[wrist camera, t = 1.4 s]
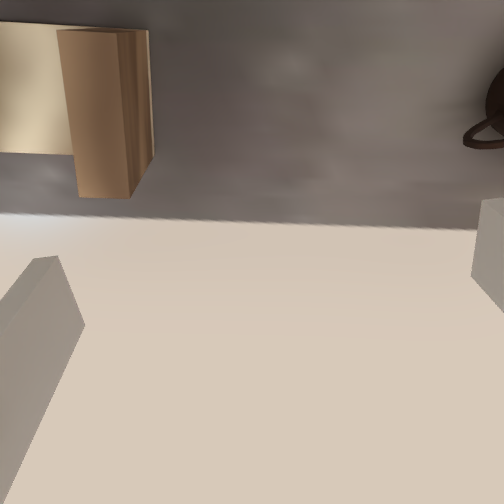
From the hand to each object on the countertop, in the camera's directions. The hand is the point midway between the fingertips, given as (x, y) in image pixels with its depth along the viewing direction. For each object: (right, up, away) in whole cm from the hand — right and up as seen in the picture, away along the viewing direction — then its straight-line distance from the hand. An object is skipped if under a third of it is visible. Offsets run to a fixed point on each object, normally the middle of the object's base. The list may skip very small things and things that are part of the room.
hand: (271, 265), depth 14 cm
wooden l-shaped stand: (-20, +13, +19) cm, 30 cm away
